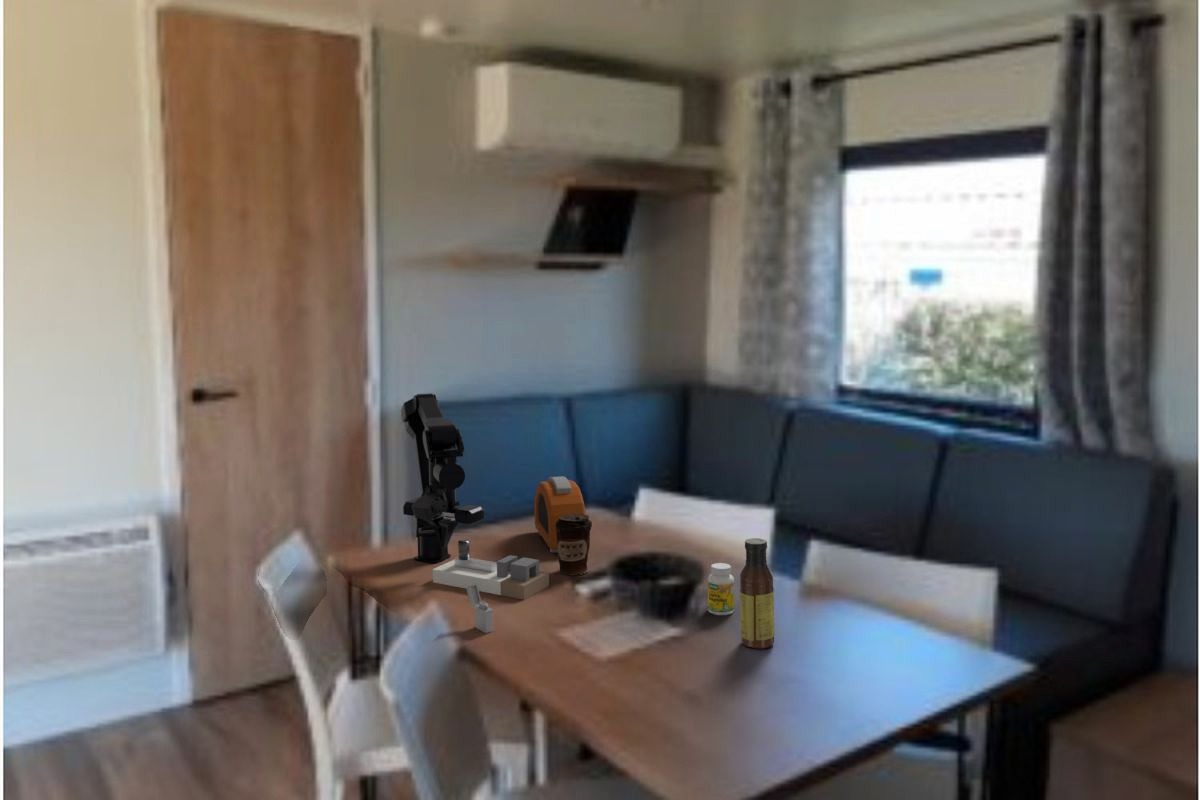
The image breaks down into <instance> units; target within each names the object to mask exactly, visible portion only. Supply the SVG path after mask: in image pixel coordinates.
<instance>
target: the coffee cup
mask: <svg viewBox="0 0 1200 800" xmlns="http://www.w3.org/2000/svg"><path fill="white" fill-rule="evenodd" d="M555 526H556V534H557V546H558V552H557V554H558V558H557V559H558V563H559V564H558V565H559V572H560V573H561V574H563V575H566V576H567V575H568V576H569V575H570V576H577V575H578V574H580V575H584V574H587V573H588V570H589V569H588V560H589V559H588V557H589V555H588V554H589V551H590V544H591V543H590V539H591V529H592V526H593V521H592V520H591V519H590V516H589V515H588V514H586V515H584V514H567V515H564V516H560V517H559V520H558V521H557V522H556V524H555ZM586 572H587V573H586ZM583 573H584V574H583ZM578 576H579V575H578Z"/></svg>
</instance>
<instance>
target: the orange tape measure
mask: <svg viewBox="0 0 1200 800" xmlns="http://www.w3.org/2000/svg"><path fill="white" fill-rule="evenodd" d="M567 514H584V515H587V514H586V507H585V502H584V498H583V495H582V492H581V489H580V487H579V485H577V483H576V482H575V481H573V480H571V479H568V478H567V477H566V476H562V475H561V476H550V477H548V478H547V480H546V481H540V482H539V483H538V486H537V487H536V491H535V496H534V526H535V529H536V530H537V532H538V535H539V536H540V537H542V539H543V540H544V542H545V544H546V545H547V547H548V548H549V552H550V553H558V546H557V534H556V526H555V524H556V522H557V521H558V520H559V517H560V516H564V515H567Z"/></svg>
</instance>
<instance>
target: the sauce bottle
mask: <svg viewBox="0 0 1200 800" xmlns="http://www.w3.org/2000/svg"><path fill="white" fill-rule="evenodd" d="M744 549H745V558H746V559H745V565H744V567H743V568H742V570H741V572H740V575H739V579H740V580H739V583H740V584H739V587H740V588H739V589H740V590H739V598H740V599H739V600H740V601H739V603H740V605H739V607H740V608H739V610H740V636H741V642H742V644H743V645H744V646H745V647H748V648H752V649H755V650H756V649H759V650H760V649H762V650H763V649H768V648H771V647H772V646H773V645H774V642H775V633H776V632H775V592H774V591H775V588H774V577H773V575H772V573H771V571H770V569H769V565H768V564H767V562H768V561H767V560H768V559H767V549H768V542H767V540H766V539H763V538H758V537H753V538H747V539H745V540H744Z"/></svg>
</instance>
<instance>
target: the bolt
mask: <svg viewBox="0 0 1200 800" xmlns="http://www.w3.org/2000/svg"><path fill="white" fill-rule="evenodd" d="M457 541H458V556H456V557H454V558H453V560H454V565H455V566H461V567H466V568H472V569H477V570H483V571H489V572H493V571H495V570H497V561H491V560H490V561H489V560H483V559H479V558H472V557H470V556H471V554H470V552H471V550H470V540H469V539H460V540H457Z"/></svg>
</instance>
